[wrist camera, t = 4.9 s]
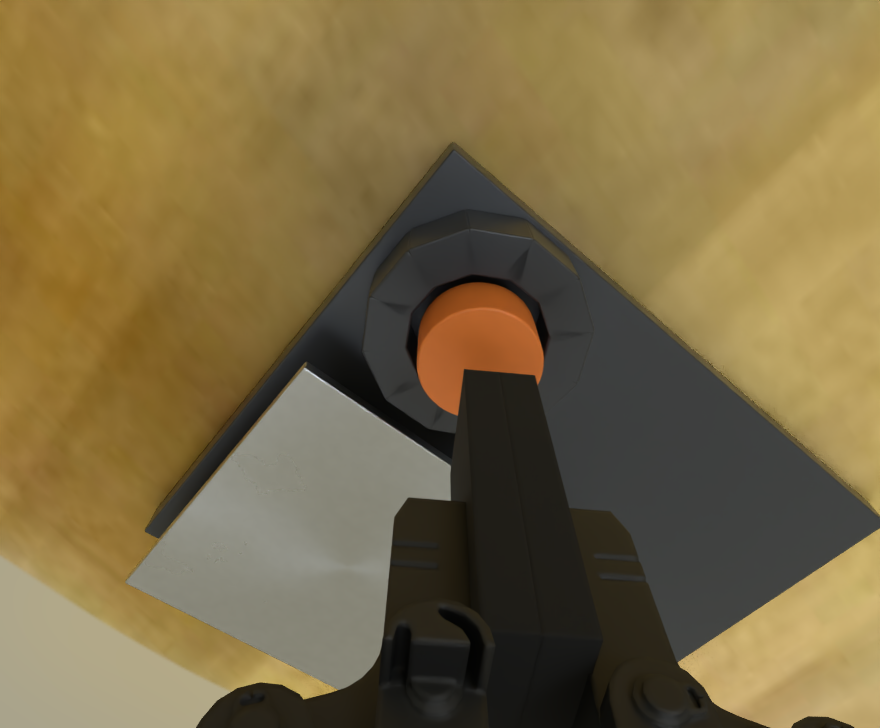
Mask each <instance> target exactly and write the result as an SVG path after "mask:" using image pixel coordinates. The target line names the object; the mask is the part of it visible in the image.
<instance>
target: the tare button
mask: <svg viewBox="0 0 880 728" xmlns="http://www.w3.org/2000/svg"><path fill="white" fill-rule="evenodd" d="M543 367H544V355H543V349H542V345H541V342H540V339H539V336H538V332H537V329H536V326H535V323H534V319H533V317H532V314H531V312H530V310H529V309H528V307H527V305H526V304H525V303H524V302H523V300H522V299H520V298H519V297H518V296H517V295H516V294H514V293H513V292H512V291H510V290H508V289H506V288H504V287H502V286H499V285H496V284H492V283H485V282H472V283H465V284H461V285H458V286H455V287H453V288H450V289H449V290H447V291H445V292H443V293H442V294H441V295H439V296H438V297H437V298H436V299H435V300H434V301H433V302H432V303H431V304H430V305H429V307H428V308H427V309H426V311H425V313H424V315H423V317H422V319H421V322H420V326H419V334H418V349H417V373H418V378H419V380H420V383H421V385H422V387H423V389H424V391H425V392H426V394H427V395H428V396H429V398H430V399H431V400H432V401H433V402H434V403H436V404H437V405H438V406H439V407H441V408H442V409H444V410H446V411H447V412H450V413H452V414H454V415H457V416H458V411H459V403H460V396H461V388H462V381H463V373H464V369H470V370H482V371H493V372H504V373H516V374H527V375H535V377H536V381H537V385H538V383H539V381H540V379H541V376H542V372H543Z"/></svg>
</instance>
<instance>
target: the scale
mask: <svg viewBox="0 0 880 728" xmlns="http://www.w3.org/2000/svg"><path fill="white" fill-rule="evenodd" d="M472 282H485V283H492V284H496V285H499V286H502V287H504V288H506V289H508V290H510V291H512V292H513V293H514V294H516V295H517V296H518V297H519V298H520V299H522V300H523V302H524V303H525V304H526V305H527V307H528V309H529V310H530V312H531V314H532V317H533V319H534V323H535V326H536V329H537V332H538V336H539V339H540V342H541V345H542V349H543V355H544V367H543V372H542V376H541V379H540V381H539V383H538V389H539V393H540V397H541V400H542V404H543V408H544V412H545V416H546V420H547V424H548V428H549V431H550V435H551V439H552V443H553V447H554V451H555V455H556V458H557V462H558V466H559V470H560V474H561V478H562V482H563V486H564V489H565V493H566V497H567V501H568V505H569V508H575V509H588V510H600V511H611V512H612V513H613V515H614V516H615V517H616V518H617V519H618V520H619V521H620V522H621V524H622V525H623V526H624V527H625V528H626V529H627V530H628V532H629V533H630V535H631V537H632V540H633V543H634V546H635V548H636V551H637V554H638V557H639V562H641V565H642V568H643V570H644V573H645V576H646V583H648V584H649V587H650V590H651V593H652V595H653V598H654V601H655V604H656V606H657V609H658V612H659V615H660V617H661V620H662V623H663V626H664V628H665V631H666V634H667V637H668V639H669V642H670V645H671V648H672V650H673V653H674V656H675V659H676V661H677V662H678V661H680V660H682V659H683V658H685V657H686V656H688V655H689V654H691V653H692V652H694V651H695V650H697V649H698V648H700V647H701V646H703V645H704V644H706V643H707V642H709V641H710V640H712V639H713V638H715V637H716V636H718V635H719V634H721V633H722V632H724V631H725V630H727V629H728V628H730V627H731V626H733V625H734V624H736V623H737V622H739V621H740V620H742V619H743V618H745V617H746V616H748V615H749V614H751V613H752V612H754V611H755V610H757V609H758V608H760V607H761V606H763V605H764V604H766V603H767V602H769V601H771V600H772V599H774V598H775V597H777V596H778V595H780V594H781V593H783V592H784V591H786V590H787V589H789V588H790V587H792V586H793V585H795V584H796V583H798V582H799V581H801V580H802V579H804V578H805V577H807V576H808V575H810V574H811V573H813V572H814V571H816V570H817V569H819V568H820V567H822V566H823V565H825V564H826V563H828V562H829V561H831V560H832V559H834V558H835V557H837V556H838V555H840V554H841V553H843V552H844V551H846V550H847V549H849V548H850V547H852V546H853V545H855V544H857V543H858V542H860V541H861V540H863V539H864V538H866V537H867V536H869V535H870V534H872V533H873V532H875V531H876V530H878V529H879V528H880V515H879V514H878V513H877V512H876V511H875V510H874V508H873V507H872V506H871V505H870V504H869V503H868V502H867V501H866V500H865V499H864V498H863V497H862V496H860V495H859V494H858V493H857V492H856V491H855V490H854V489H852V488H851V487H850V486H849V485H848V484H847V483H846V482H844V481H843V480H842V479H841V478H840V477H839V476H837V475H836V474H835V473H834V472H833V471H832V470H831V469H829V468H828V467H827V466H826V465H825V464H824V463H823V462H821V461H820V460H819V459H818V458H817V457H816V456H814V455H813V454H812V453H811V452H810V451H809V450H808V449H806V448H805V447H804V446H803V445H802V444H801V443H800V442H798V441H797V440H796V439H795V438H794V437H793V436H791V435H790V434H789V433H788V432H787V431H786V430H785V429H783V428H782V427H781V426H780V425H779V424H778V423H777V422H775V421H774V420H773V419H772V418H771V417H770V416H769V415H767V414H766V413H765V412H764V411H763V410H762V409H760V408H759V407H758V406H757V405H756V404H755V403H754V402H752V401H751V400H750V399H749V398H748V397H747V396H746V395H744V394H743V393H742V392H741V391H740V390H739V389H737V388H736V387H735V386H734V385H733V384H732V383H731V382H729V381H728V380H727V379H726V378H725V377H724V376H723V375H721V374H720V373H719V372H718V371H717V370H716V369H714V368H713V367H712V366H711V365H710V364H709V363H708V362H706V361H705V360H704V359H703V358H702V357H701V356H700V355H698V354H697V353H696V352H695V351H694V350H693V349H691V348H690V347H689V346H688V345H687V344H686V343H685V342H683V341H682V340H681V339H680V338H679V337H678V336H677V335H675V334H674V333H673V332H672V331H671V330H670V329H668V328H667V327H666V326H665V325H664V324H663V323H662V322H660V321H659V320H658V319H657V318H656V317H655V316H654V315H652V314H651V313H650V312H649V311H648V310H647V309H645V308H644V307H643V306H642V305H641V304H640V303H639V302H637V301H636V300H635V299H634V298H633V297H632V296H631V295H629V294H628V293H627V292H626V291H625V290H624V289H622V288H621V287H620V286H619V285H618V284H617V283H616V282H614V281H613V280H612V279H611V278H610V277H609V276H608V275H606V274H605V273H604V272H603V271H602V270H601V269H600V268H598V267H597V266H596V265H595V264H594V263H593V262H591V261H590V260H589V259H588V258H587V257H586V256H585V255H583V254H582V253H581V252H580V251H579V250H578V249H577V248H575V247H574V246H573V245H572V244H571V243H570V242H568V241H567V240H566V239H565V238H564V237H563V236H562V235H560V234H559V233H558V232H557V231H556V230H555V229H554V228H552V227H551V226H550V225H549V224H548V223H547V222H545V221H544V220H543V219H542V218H541V217H540V216H539V215H537V214H536V213H535V212H534V211H533V210H532V209H531V208H529V207H528V206H527V205H526V204H525V203H524V202H522V201H521V200H520V199H519V198H518V197H517V196H516V195H514V194H513V193H512V192H511V191H510V190H509V189H508V188H506V187H505V186H504V185H503V184H502V183H501V182H499V181H498V180H497V179H496V178H495V177H494V176H493V175H491V174H490V173H489V172H488V171H487V170H486V169H485V168H483V167H482V166H481V165H480V164H479V163H478V162H476V161H475V160H474V159H473V158H472V157H471V156H470V155H468V154H467V153H466V152H465V151H464V150H463V149H462V148H460V147H459V146H458V145H457V144H456V143H455V142H452V143H451V144H450V145H449V146H448V148H447V149H446V150H445V151H444V153H443V154H442V155H441V156H440V158H439V159H438V160H437V161H436V163H435V164H434V165H433V166H432V167H431V169H430V170H429V171H428V172H427V174H426V175H425V176H424V177H423V179H422V180H421V181H420V182H419V184H418V185H417V186H416V187H415V189H414V190H413V191H412V192H411V194H410V195H409V196H408V197H407V199H406V200H405V201H404V202H403V204H402V205H401V206H400V207H399V209H398V210H397V211H396V212H395V213H394V215H393V216H392V217H391V218H390V220H389V221H388V222H387V223H386V225H385V226H384V227H383V228H382V230H381V231H380V232H379V233H378V235H377V236H376V237H375V238H374V240H373V241H372V242H371V243H370V245H369V246H368V247H367V248H366V250H365V251H364V252H363V253H362V255H361V256H360V257H359V258H358V259H357V261H356V262H355V263H354V264H353V266H352V267H351V268H350V269H349V271H348V272H347V273H346V274H345V276H344V277H343V278H342V279H341V281H340V282H339V283H338V284H337V286H336V287H335V288H334V289H333V291H332V292H331V293H330V294H329V296H328V297H327V298H326V299H325V301H324V302H323V303H322V304H321V306H320V307H319V308H318V309H317V310H316V312H315V313H314V314H313V315H312V317H311V318H310V319H309V320H308V322H307V323H306V324H305V325H304V327H303V328H302V329H301V330H300V332H299V333H298V334H297V335H296V337H295V338H294V339H293V340H292V342H291V343H290V344H289V345H288V347H287V348H286V349H285V350H284V352H283V353H282V354H281V355H280V356H279V358H278V359H277V360H276V361H275V363H274V364H273V365H272V366H271V368H270V369H269V370H268V371H267V373H266V374H265V375H264V376H263V378H262V379H261V380H260V381H259V383H258V384H257V385H256V386H255V388H254V389H253V390H252V391H251V393H250V394H249V395H248V396H247V398H246V399H245V400H244V401H243V402H242V404H241V405H240V406H239V407H238V409H237V410H236V411H235V412H234V414H233V415H232V416H231V417H230V419H229V420H228V421H227V422H226V424H225V425H224V426H223V427H222V429H221V430H220V431H219V432H218V434H217V435H216V436H215V437H214V439H213V440H212V441H211V442H210V444H209V445H208V446H207V447H206V448H205V450H204V451H203V452H202V453H201V455H200V456H199V457H198V458H197V460H196V461H195V462H194V463H193V465H192V466H191V467H190V468H189V470H188V471H187V472H186V473H185V475H184V476H183V477H182V478H181V480H180V481H179V482H178V483H177V485H176V486H175V487H174V488H173V490H172V491H171V492H170V493H169V494H168V496H167V497H166V498H165V499H164V501H163V502H162V503H161V504H160V506H159V507H158V508H157V509H156V511H155V513H154V515H153V517H152V518H151V520H150V522H149V524H148V525H147V527H146V529H145V532H147V533H149V534H151V535H152V536H154V537H156V538H158V539H159V538H160V537H161V536H162V534H163V533H164V532H165V531H166V530H167V528H168V527H169V526H170V525H171V523H172V522H173V521H174V520H175V519H176V517H177V516H178V515H179V514H180V513H181V511H182V510H183V509H184V508H185V507H186V505H187V504H188V503H189V502H190V501H191V499H192V498H193V497H194V496H195V495H196V493H197V492H198V491H199V490H200V489H201V487H202V486H203V485H204V484H205V482H206V481H207V480H208V479H209V478H210V476H211V475H212V474H213V473H214V472H215V470H216V469H217V468H218V467H219V466H220V464H221V463H222V462H223V461H224V460H225V458H226V457H227V456H228V455H229V454H230V452H231V451H232V450H233V449H234V448H235V446H236V445H237V444H238V443H239V441H240V440H241V439H242V438H243V437H244V435H245V434H246V433H247V432H248V431H249V429H250V428H251V427H252V426H253V425H254V423H255V422H256V421H257V420H258V419H259V417H260V416H261V415H262V414H263V413H264V411H265V410H266V409H267V408H268V407H269V405H270V404H271V403H272V402H273V400H274V399H275V398H276V397H277V396H278V394H279V393H280V392H281V391H282V390H283V388H284V387H285V386H286V385H287V384H288V382H289V381H290V380H291V379H292V378H293V376H294V375H295V374H296V373H297V372H298V370H299V369H300V368H301V367H302V366H303V364H304V363H305V362H308V363H310V364H311V365H313V366H314V367H316V368H317V369H319V370H320V371H322V372H323V373H325V374H326V375H328V376H329V377H331V378H332V379H334V380H335V381H336V382H338V383H339V384H341V385H342V386H344V387H345V388H347V389H348V390H350V391H351V392H353V393H354V394H356V395H357V396H359V397H360V398H362V399H363V400H365V401H366V402H368V403H369V404H371V405H372V406H373V407H375V408H376V409H378V410H379V411H381V412H382V413H384V414H385V415H387V416H388V417H390V418H391V419H393V420H394V421H396V422H397V423H399V424H400V425H402V426H403V427H405V428H406V429H408V430H409V431H410V432H412V433H413V434H415V435H416V436H418V437H419V438H421V439H422V440H424V441H425V442H427V443H428V444H430V445H431V446H433V447H434V448H436V449H437V450H439V451H440V452H442V453H443V454H445V455H446V456H448V457H449V458H450V459H452V456H453V448H454V441H455V433H456V426H457V418H458V416H457V415H454V414H452V413H450V412H447V411H446V410H444V409H442V408H441V407H439V406H438V405H437V404H436V403H434V402H433V401H432V400H431V399H430V398H429V396H428V395H427V394H426V392H425V391H424V389H423V387H422V385H421V383H420V380H419V378H418V373H417V349H418V334H419V326H420V322H421V319H422V317H423V315H424V313H425V311H426V309H427V308H428V307H429V305H430V304H431V303H432V302H433V301H434V300H435V299H436V298H437V297H438V296H439V295H441V294H442V293H443V292H445V291H447V290H449V289H450V288H453V287H455V286H458V285H461V284H465V283H472Z"/></svg>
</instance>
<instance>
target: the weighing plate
mask: <svg viewBox="0 0 880 728" xmlns="http://www.w3.org/2000/svg"><path fill="white" fill-rule="evenodd" d="M451 463H452V459H450V458H449V457H448V456H446V455H445V454H443V453H442V452H440V451H439V450H437V449H436V448H434V447H433V446H431V445H430V444H428V443H427V442H425V441H424V440H422V439H421V438H419V437H418V436H416V435H415V434H413V433H412V432H410V431H409V430H408V429H406V428H405V427H403V426H402V425H400V424H399V423H397V422H396V421H394V420H393V419H391V418H390V417H388V416H387V415H385V414H384V413H382V412H381V411H379V410H378V409H376V408H375V407H373V406H372V405H371V404H369V403H368V402H366V401H365V400H363V399H362V398H360V397H359V396H357V395H356V394H354V393H353V392H351V391H350V390H348V389H347V388H345V387H344V386H342V385H341V384H339V383H338V382H336V381H335V380H334V379H332V378H331V377H329V376H328V375H326V374H325V373H323V372H322V371H320V370H319V369H317V368H316V367H314V366H313V365H311V364H310V363H308V362H305V363H304V364H303V366H302V367H301V368H300V369H299V370H298V372H297V373H296V374H295V375H294V376H293V378H292V379H291V380H290V381H289V382H288V384H287V385H286V386H285V387H284V388H283V390H282V391H281V392H280V393H279V394H278V396H277V397H276V398H275V399H274V400H273V402H272V403H271V404H270V405H269V407H268V408H267V409H266V410H265V411H264V413H263V414H262V415H261V416H260V417H259V419H258V420H257V421H256V422H255V423H254V425H253V426H252V427H251V428H250V429H249V431H248V432H247V433H246V434H245V435H244V437H243V438H242V439H241V440H240V441H239V443H238V444H237V445H236V446H235V448H234V449H233V450H232V451H231V452H230V454H229V455H228V456H227V457H226V458H225V460H224V461H223V462H222V463H221V464H220V466H219V467H218V468H217V469H216V470H215V472H214V473H213V474H212V475H211V476H210V478H209V479H208V480H207V481H206V482H205V484H204V485H203V486H202V487H201V489H200V490H199V491H198V492H197V493H196V495H195V496H194V497H193V498H192V499H191V501H190V502H189V503H188V504H187V505H186V507H185V508H184V509H183V510H182V511H181V513H180V514H179V515H178V516H177V517H176V519H175V520H174V521H173V522H172V523H171V525H170V526H169V527H168V528H167V530H166V531H165V532H164V533H163V534H162V536H161V537H160V538H159V539H158V540H157V542H156V543H155V544H154V545H153V546H152V548H151V549H150V550H149V551H148V552H147V554H146V555H145V556H144V557H143V558H142V560H141V561H140V562H139V563H138V564H137V566H136V567H135V568H134V569H133V571H132V572H131V573H130V574H129V576H128V578H127V580H126V582H125V583H127V584H129V585H131V586H133V587H135V588H137V589H139V590H141V591H143V592H145V593H147V594H149V595H151V596H153V597H155V598H157V599H159V600H161V601H163V602H165V603H167V604H169V605H171V606H173V607H175V608H177V609H179V610H181V611H183V612H185V613H187V614H189V615H191V616H193V617H195V618H197V619H199V620H201V621H203V622H205V623H207V624H209V625H211V626H213V627H215V628H217V629H219V630H221V631H223V632H225V633H227V634H229V635H231V636H233V637H234V638H236V639H238V640H240V641H242V642H244V643H246V644H248V645H250V646H252V647H254V648H256V649H258V650H260V651H262V652H264V653H266V654H268V655H270V656H272V657H274V658H276V659H278V660H280V661H282V662H284V663H286V664H288V665H290V666H292V667H294V668H296V669H298V670H300V671H302V672H304V673H306V674H308V675H310V676H312V677H314V678H316V679H318V680H320V681H322V682H324V683H326V684H328V685H330V686H332V687H334V688H336V689H338V690H340V689H343V688H346V687H348V686H350V685H351V684H353V683H354V682H356V681H358V680H359V679H361V678H362V677H363V676H364V675H365V674H366V673H367V672H368V671H369V670H370V669H371V668H372V667H373V665H374V663H375V661H376V660H377V658H378V656H379V654H380V650H381V646H382V638H383V633H384V622H385V611H386V600H387V590H388V579H389V568H390V557H391V546H392V536H393V525H394V517H395V515H396V514H397V512H398V511H399V510H400V508H401V507H402V505H403V504H404V503H405V501H406V500H407V498H408V497H410V498H423V499H436V500H448V501H451V488H450V471H451Z"/></svg>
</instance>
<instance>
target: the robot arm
mask: <svg viewBox="0 0 880 728" xmlns="http://www.w3.org/2000/svg"><path fill="white" fill-rule="evenodd" d="M450 488H451V501H448V500H436V499H423V498H410V497H408V498H407V500H406V501H405V503H404V504H403V505H402V507H401V508H400V510H399V511H398V512H397V514H396V515H395V517H394V525H393V536H392V546H391V557H390V568H389V579H388V590H387V600H386V611H385V622H384V633H383V638H382V646H381V650H380V654H379V656H378V658H377V660H376V661H375V663H374V665H373V667H372V668H371V669H370V670H369V671H368V672H367V673H366V674H365V675H364V676H363V677H362V678H361V679H359V680H358V681H356V682H354V683H353V684H351V685H350V686H348V687H346V688H343V689H340V690H338V691H335V692H332V693H328V694H324V695H320V696H316V697H312V698H308V699H304V700H303V698H302V697H301V696H300V694H298V693H296V692H294V691H292V690H290V689H288V688H287V687H285V686H283V685H279V684H269V683H256V684H252V685H248V686H244V687H240V688H237V689H235V690H234V691H232V692H230V693H229V694H227V695H226V696H224V697H222V698H221V699H219V700H218V701H217V702H216V703H215V704H214V705H213V706H212V707H211V708H210V710H209V711H208V712H207V713H206V714H205V715H204V717H203V718H202V719H201V721H200V722H199V724H198V725H197V727H196V728H769V727H766V726H764V725H761V724H758V723H755V722H753V721H750V720H747V719H745V718H742V717H739V716H737V715H735V714H732V713H730V712H728V711H726V710H724V709H722V708H720V707H719V706H717V705H716V704H714V703H713V702H712V701H711V699H710V698H709V696H708V694H707V692H706V691H705V689H704V687H703V686H702V685H701V684H700V683H698V682H697V681H696V680H695V679H694V678H693V677H692V676H691V675H690V674H689V673H688V672H687V671H685V670H683V669H681V668H680V667H679V665H678V663H677V661H676V659H675V656H674V653H673V650H672V648H671V645H670V642H669V639H668V637H667V634H666V631H665V628H664V626H663V623H662V620H661V617H660V615H659V612H658V609H657V606H656V604H655V601H654V598H653V595H652V593H651V590H650V587H649V584H648V583H646V576H645V573H644V570H643V568H642V565H641V562H639V557H638V554H637V551H636V548H635V546H634V543H633V540H632V537H631V535H630V533H629V532H628V530H627V529H626V528H625V527H624V526H623V525H622V524H621V522H620V521H619V520H618V519H617V518H616V517H615V516H614V515H613V513H612V512H611V511H600V510H588V509H575V508H569V505H568V501H567V497H566V493H565V489H564V486H563V482H562V478H561V474H560V470H559V466H558V462H557V458H556V455H555V451H554V447H553V443H552V439H551V435H550V431H549V428H548V424H547V420H546V416H545V412H544V408H543V404H542V400H541V397H540V393H539V389H538V385H537V381H536V377H535V375H527V374H516V373H504V372H493V371H482V370H470V369H464V373H463V381H462V388H461V396H460V403H459V411H458V418H457V426H456V433H455V441H454V448H453V456H452V463H451V471H450ZM792 728H854V727H853V726H851V725H849V724H846V723H843V722H840V721H837V720H835V719H832V718H829V717H806V718H804V719H802V720H800V721H798V722H796V723H794V724H793V726H792Z"/></svg>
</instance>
